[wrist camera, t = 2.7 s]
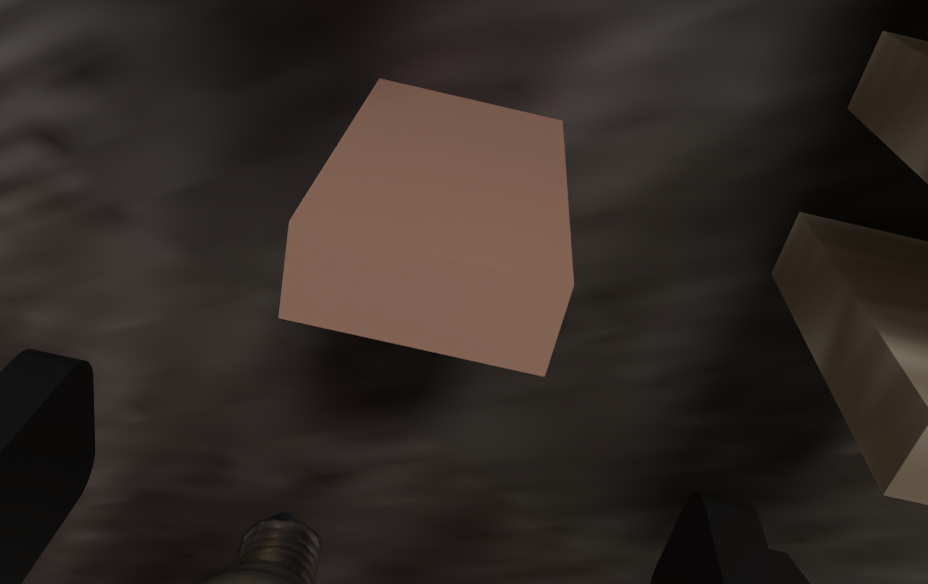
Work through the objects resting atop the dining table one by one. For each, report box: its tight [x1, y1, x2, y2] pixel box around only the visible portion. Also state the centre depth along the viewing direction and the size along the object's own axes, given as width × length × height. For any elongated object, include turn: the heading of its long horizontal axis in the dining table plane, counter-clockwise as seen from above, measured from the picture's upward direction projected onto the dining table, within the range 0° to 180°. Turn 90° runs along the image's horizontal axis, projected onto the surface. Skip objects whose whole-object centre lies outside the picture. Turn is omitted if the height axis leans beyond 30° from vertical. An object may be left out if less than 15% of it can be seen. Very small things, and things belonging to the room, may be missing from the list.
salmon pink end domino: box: [279, 78, 574, 377], centre depth 18 cm, size 2×5×9 cm, turn 78°
